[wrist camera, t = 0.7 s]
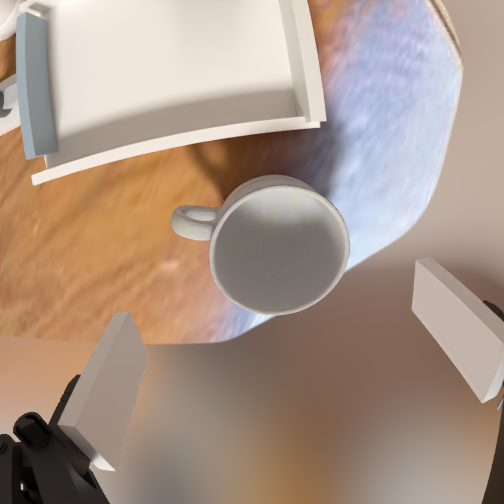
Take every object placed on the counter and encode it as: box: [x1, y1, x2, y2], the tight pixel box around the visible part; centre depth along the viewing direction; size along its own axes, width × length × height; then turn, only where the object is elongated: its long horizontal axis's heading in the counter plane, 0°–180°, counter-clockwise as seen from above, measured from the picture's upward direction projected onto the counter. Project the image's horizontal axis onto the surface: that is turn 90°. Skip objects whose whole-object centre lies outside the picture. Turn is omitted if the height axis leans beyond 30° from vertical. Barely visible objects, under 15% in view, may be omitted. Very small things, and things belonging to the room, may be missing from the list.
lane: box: [0, 0, 327, 186], centre depth 20 cm, size 33×20×6 cm, turn 98°
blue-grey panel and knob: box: [0, 12, 58, 160], centre depth 19 cm, size 8×15×6 cm, turn 8°
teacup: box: [171, 175, 350, 315], centre depth 26 cm, size 14×11×8 cm
